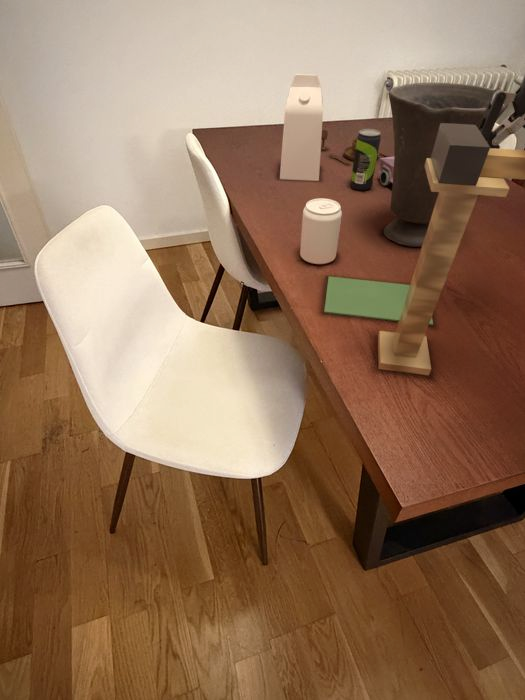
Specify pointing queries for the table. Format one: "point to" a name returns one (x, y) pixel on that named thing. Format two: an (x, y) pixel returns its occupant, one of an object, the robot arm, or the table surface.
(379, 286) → the felt mat
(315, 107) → the milk
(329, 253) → the beverage can
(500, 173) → the mallet
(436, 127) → the vase
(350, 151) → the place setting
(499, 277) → the table surface
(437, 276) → the stand
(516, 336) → the table surface
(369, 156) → the beverage can
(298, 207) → the table surface
